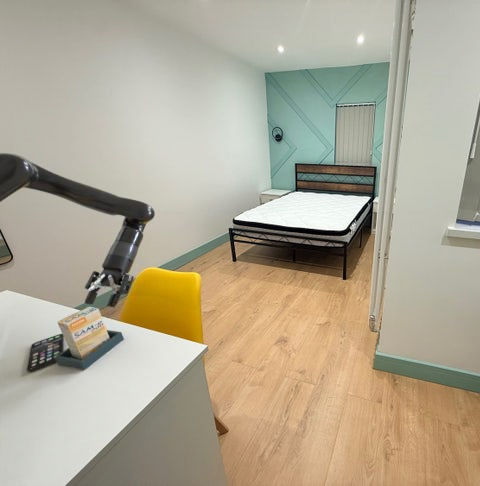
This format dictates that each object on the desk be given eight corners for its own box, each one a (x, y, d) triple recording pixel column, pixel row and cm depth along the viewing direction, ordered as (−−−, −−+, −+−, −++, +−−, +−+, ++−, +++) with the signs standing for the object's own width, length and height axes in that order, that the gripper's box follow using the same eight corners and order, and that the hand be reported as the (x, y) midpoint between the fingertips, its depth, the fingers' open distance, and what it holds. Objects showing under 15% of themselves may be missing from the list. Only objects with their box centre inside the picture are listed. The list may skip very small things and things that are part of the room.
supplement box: (83, 361, 76) (66, 325, 72) (72, 357, 78) (55, 321, 73) (112, 342, 84) (99, 308, 79) (102, 339, 85) (88, 305, 80)
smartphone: (63, 332, 88) (62, 357, 77) (63, 334, 88) (63, 359, 78) (31, 343, 83) (26, 371, 73) (32, 345, 83) (27, 373, 73)
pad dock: (57, 365, 76) (53, 357, 75) (100, 335, 87) (97, 328, 86) (84, 370, 74) (81, 362, 73) (124, 339, 86) (121, 332, 85)
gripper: (93, 251, 86) (68, 300, 80) (129, 254, 83) (107, 305, 77) (113, 259, 93) (92, 305, 86) (147, 262, 90) (128, 309, 84)
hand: (99, 305), depth 82 cm, fingers open, 8 cm apart
